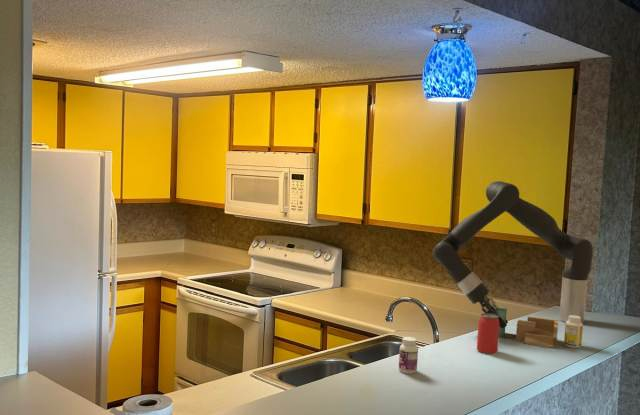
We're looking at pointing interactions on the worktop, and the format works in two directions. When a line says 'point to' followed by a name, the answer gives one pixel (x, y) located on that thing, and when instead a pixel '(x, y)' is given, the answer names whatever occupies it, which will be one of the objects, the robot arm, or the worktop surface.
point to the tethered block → (521, 327)
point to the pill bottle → (408, 355)
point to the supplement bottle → (573, 332)
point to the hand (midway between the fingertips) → (505, 325)
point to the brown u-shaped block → (543, 333)
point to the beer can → (488, 333)
